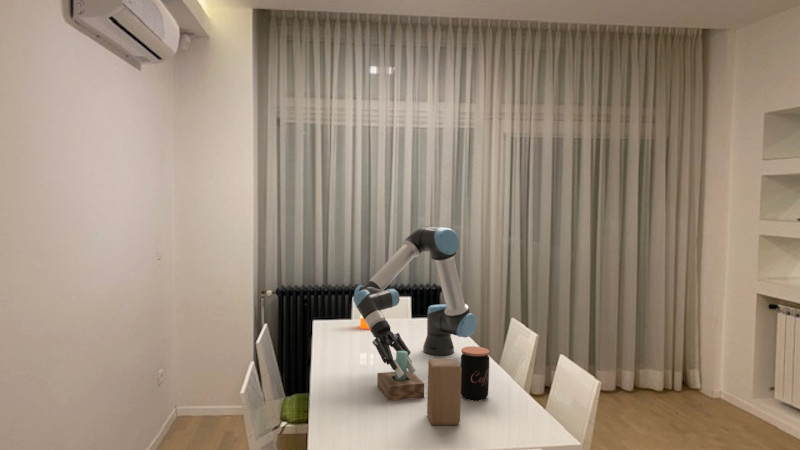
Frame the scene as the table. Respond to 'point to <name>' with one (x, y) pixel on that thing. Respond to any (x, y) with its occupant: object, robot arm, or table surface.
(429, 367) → the wooden block
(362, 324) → the orange juice
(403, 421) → the table surface
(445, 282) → the robot arm
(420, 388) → the socket block
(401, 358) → the pin
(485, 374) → the coffee jar
